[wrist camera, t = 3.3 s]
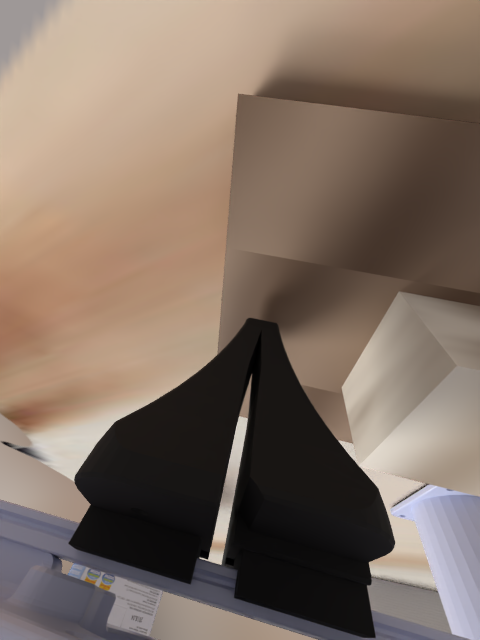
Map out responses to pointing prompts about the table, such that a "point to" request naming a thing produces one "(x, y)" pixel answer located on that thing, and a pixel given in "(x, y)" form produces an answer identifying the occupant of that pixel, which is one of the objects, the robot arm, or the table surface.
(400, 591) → the warehouse
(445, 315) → the birch block
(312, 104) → the trap board
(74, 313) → the table surface
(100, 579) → the ink cartridge box
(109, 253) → the table surface
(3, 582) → the robot arm
